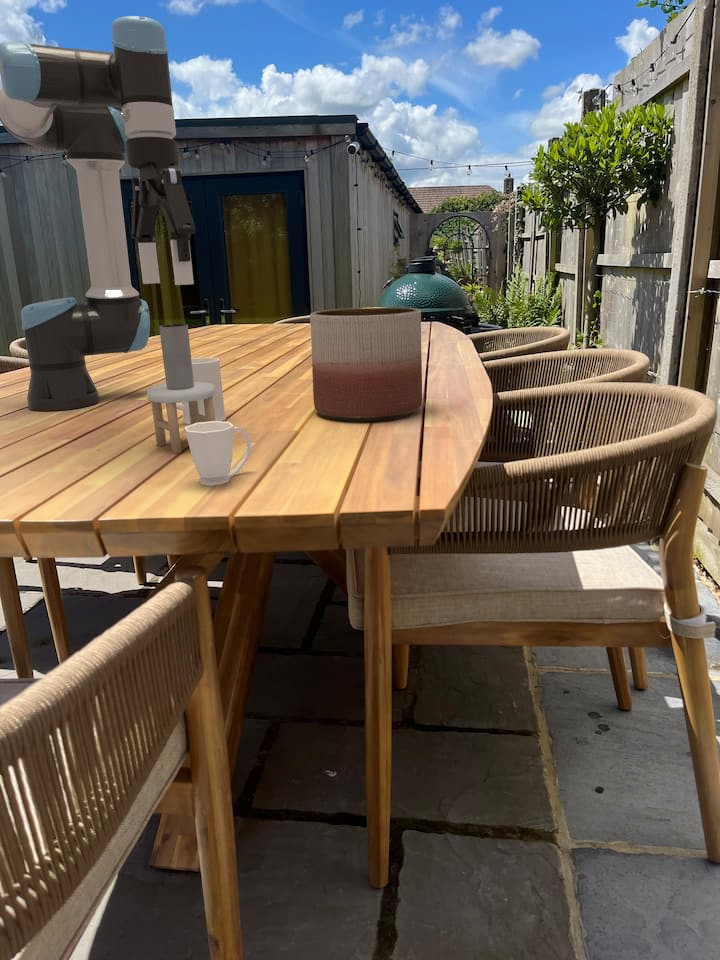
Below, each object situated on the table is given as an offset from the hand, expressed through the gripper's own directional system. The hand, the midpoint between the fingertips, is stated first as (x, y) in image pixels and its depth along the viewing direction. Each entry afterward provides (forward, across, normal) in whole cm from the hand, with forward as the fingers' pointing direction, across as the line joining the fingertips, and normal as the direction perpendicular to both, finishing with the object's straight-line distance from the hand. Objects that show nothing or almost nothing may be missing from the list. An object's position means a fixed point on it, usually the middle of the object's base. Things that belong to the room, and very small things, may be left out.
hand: (167, 284), depth 110 cm
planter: (+27, +2, +39) cm, 48 cm away
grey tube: (+17, 0, 0) cm, 17 cm away
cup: (+27, +23, -4) cm, 35 cm away
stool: (+27, +1, 0) cm, 27 cm away
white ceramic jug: (+27, -15, +9) cm, 32 cm away
